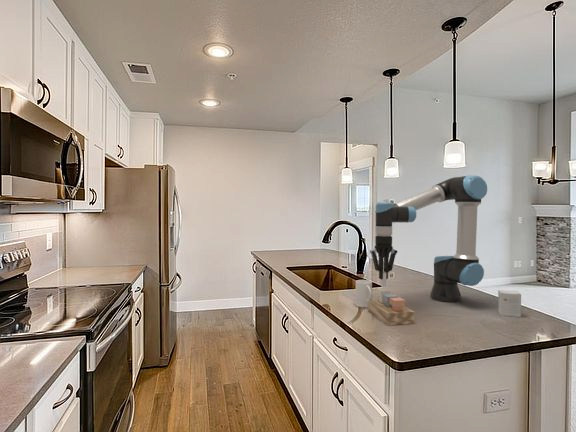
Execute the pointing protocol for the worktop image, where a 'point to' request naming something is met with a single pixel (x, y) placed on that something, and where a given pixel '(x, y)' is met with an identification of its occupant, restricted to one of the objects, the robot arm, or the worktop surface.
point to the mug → (363, 293)
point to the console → (390, 314)
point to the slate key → (386, 299)
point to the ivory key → (382, 291)
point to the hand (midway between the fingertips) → (383, 285)
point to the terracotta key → (397, 304)
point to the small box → (509, 303)
